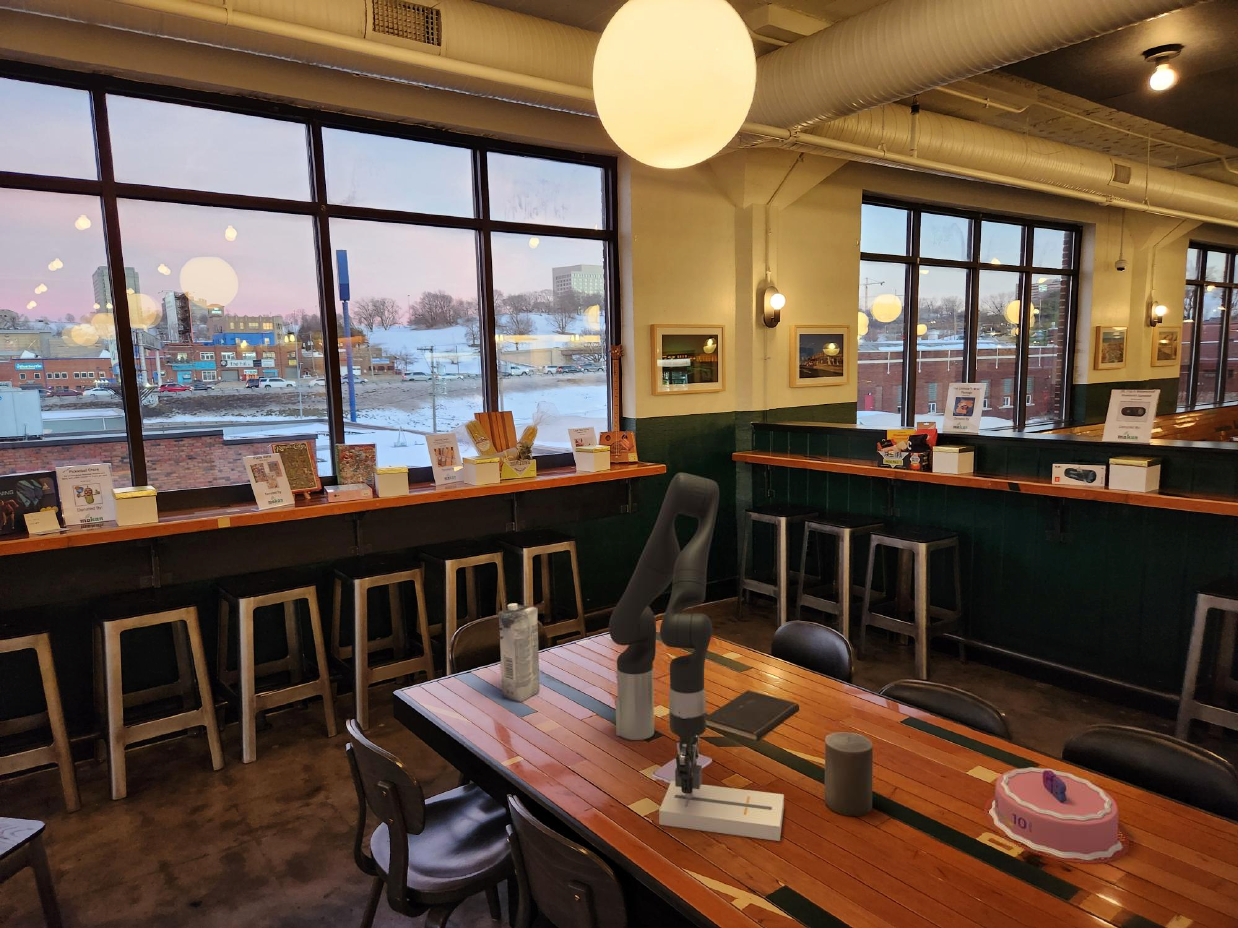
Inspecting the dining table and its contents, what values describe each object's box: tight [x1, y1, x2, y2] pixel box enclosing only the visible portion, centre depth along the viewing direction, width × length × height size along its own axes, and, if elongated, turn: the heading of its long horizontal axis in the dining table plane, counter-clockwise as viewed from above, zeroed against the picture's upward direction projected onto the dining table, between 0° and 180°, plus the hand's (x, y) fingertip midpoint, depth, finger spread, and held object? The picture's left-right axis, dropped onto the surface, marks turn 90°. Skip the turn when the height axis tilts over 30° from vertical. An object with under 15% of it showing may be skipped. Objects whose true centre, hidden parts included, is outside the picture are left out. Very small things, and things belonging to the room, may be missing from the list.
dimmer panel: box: [658, 781, 785, 842], centre depth 156 cm, size 24×12×3 cm, turn 74°
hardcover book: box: [706, 689, 800, 742], centre depth 203 cm, size 16×23×2 cm
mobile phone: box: [651, 753, 713, 785], centre depth 176 cm, size 8×1×15 cm
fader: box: [675, 765, 703, 799], centre depth 157 cm, size 5×3×6 cm, turn 74°
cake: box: [983, 766, 1130, 865], centre depth 150 cm, size 25×25×11 cm
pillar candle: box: [824, 731, 874, 817], centre depth 159 cm, size 10×10×15 cm
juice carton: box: [497, 602, 541, 703], centre depth 220 cm, size 9×10×27 cm
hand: (688, 787), depth 157 cm, fingers closed on fader, 3 cm apart
